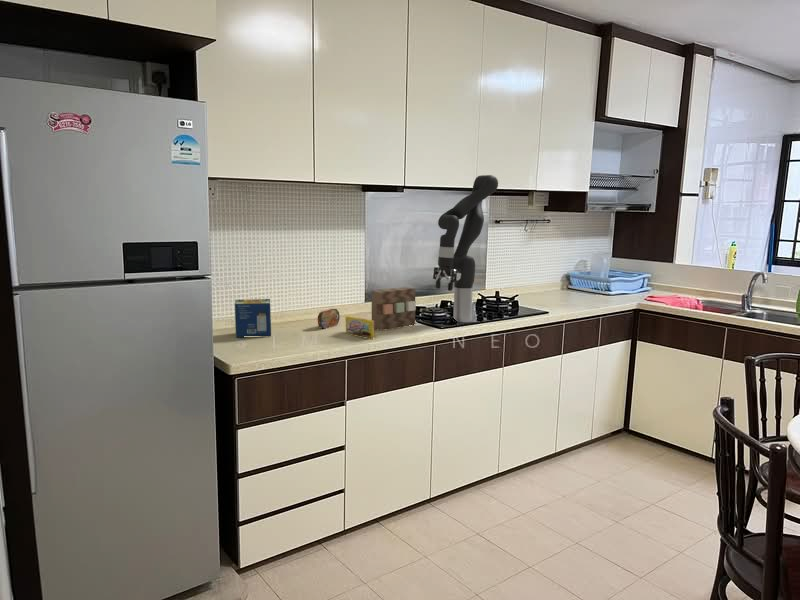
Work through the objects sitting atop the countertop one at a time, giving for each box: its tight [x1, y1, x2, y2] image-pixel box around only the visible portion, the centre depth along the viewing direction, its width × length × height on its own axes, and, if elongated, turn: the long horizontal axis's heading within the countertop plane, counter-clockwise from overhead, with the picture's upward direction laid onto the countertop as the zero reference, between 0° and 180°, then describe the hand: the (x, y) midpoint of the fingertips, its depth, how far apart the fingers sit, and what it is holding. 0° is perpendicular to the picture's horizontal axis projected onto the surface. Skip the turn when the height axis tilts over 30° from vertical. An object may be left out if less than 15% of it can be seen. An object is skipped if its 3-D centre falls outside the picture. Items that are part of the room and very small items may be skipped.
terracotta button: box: [382, 303, 393, 315], centre depth 275 cm, size 4×3×4 cm
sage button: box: [394, 302, 404, 313], centre depth 279 cm, size 4×3×4 cm
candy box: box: [345, 315, 375, 340], centre depth 263 cm, size 16×2×8 cm, turn 50°
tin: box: [317, 308, 341, 330], centre depth 282 cm, size 15×3×8 cm, turn 151°
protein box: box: [234, 298, 272, 338], centre depth 263 cm, size 10×15×16 cm
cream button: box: [406, 300, 417, 311], centre depth 284 cm, size 4×3×4 cm
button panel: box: [371, 286, 416, 331], centre depth 283 cm, size 21×7×18 cm, turn 128°
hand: (443, 289), depth 288 cm, fingers open, 8 cm apart
